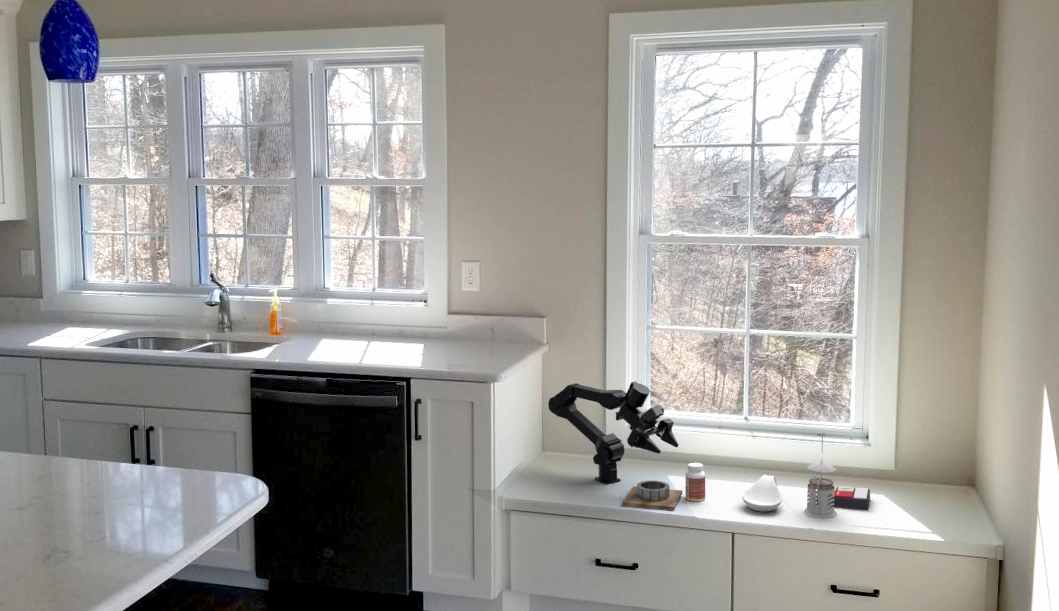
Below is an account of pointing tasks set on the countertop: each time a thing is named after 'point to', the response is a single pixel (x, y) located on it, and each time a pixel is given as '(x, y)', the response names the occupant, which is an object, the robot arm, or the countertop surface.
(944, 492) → the countertop surface
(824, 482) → the french press
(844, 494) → the black box
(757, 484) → the spoon rest
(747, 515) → the countertop surface
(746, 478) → the countertop surface
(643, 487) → the collar
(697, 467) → the pill bottle
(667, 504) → the socket plate
